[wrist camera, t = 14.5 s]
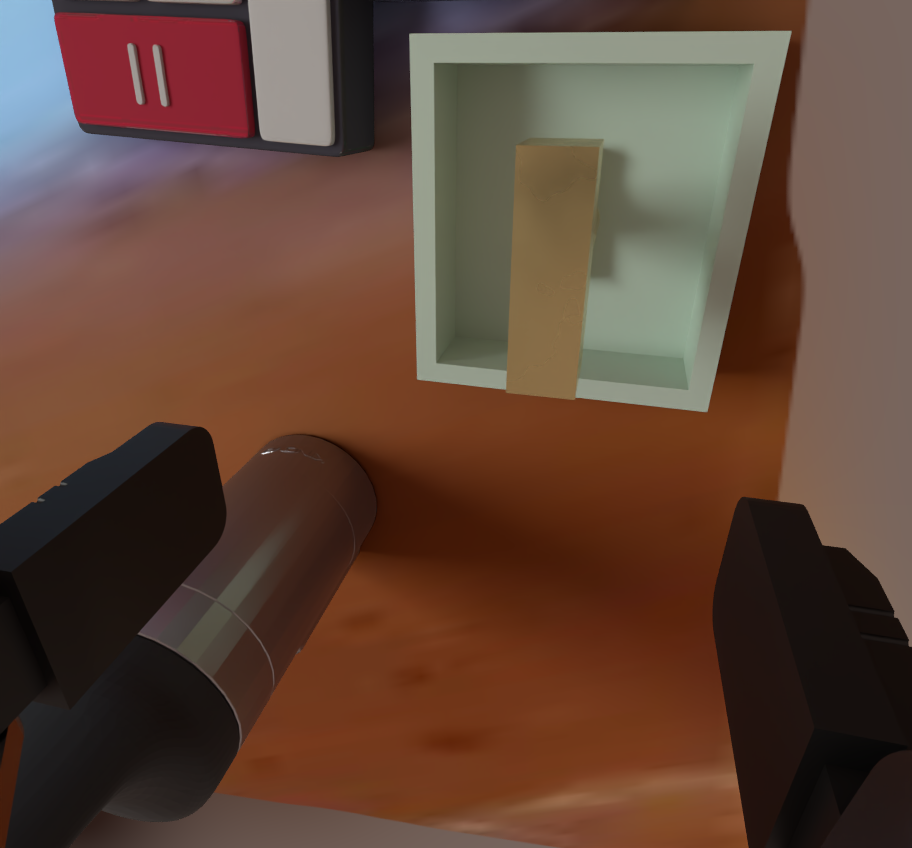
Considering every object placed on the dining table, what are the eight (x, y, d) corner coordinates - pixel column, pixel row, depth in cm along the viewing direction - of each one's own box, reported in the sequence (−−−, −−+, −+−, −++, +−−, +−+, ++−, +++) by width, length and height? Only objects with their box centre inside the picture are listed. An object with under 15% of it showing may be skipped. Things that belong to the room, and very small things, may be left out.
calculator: (2, -153, 27) (326, -163, 23) (83, -124, 30) (373, -130, 27) (66, 133, 32) (337, 159, 28) (128, 129, 36) (376, 151, 32)
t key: (558, 122, 29) (515, 144, 19) (613, 123, 28) (599, 146, 18) (547, 295, 33) (505, 392, 22) (594, 298, 32) (574, 399, 22)
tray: (699, 373, 33) (707, 412, 29) (440, 347, 36) (417, 379, 32) (768, 38, 26) (791, 30, 22) (439, 40, 29) (409, 33, 25)
